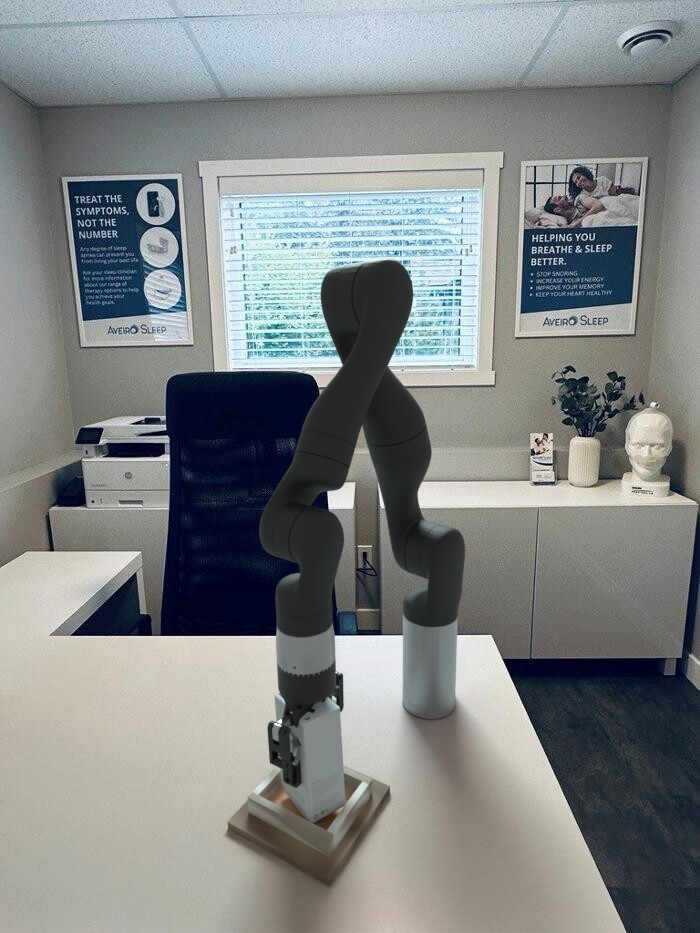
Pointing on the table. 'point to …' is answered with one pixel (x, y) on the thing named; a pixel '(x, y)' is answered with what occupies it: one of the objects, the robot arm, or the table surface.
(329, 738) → the skincare box
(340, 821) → the holder board
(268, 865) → the table surface
